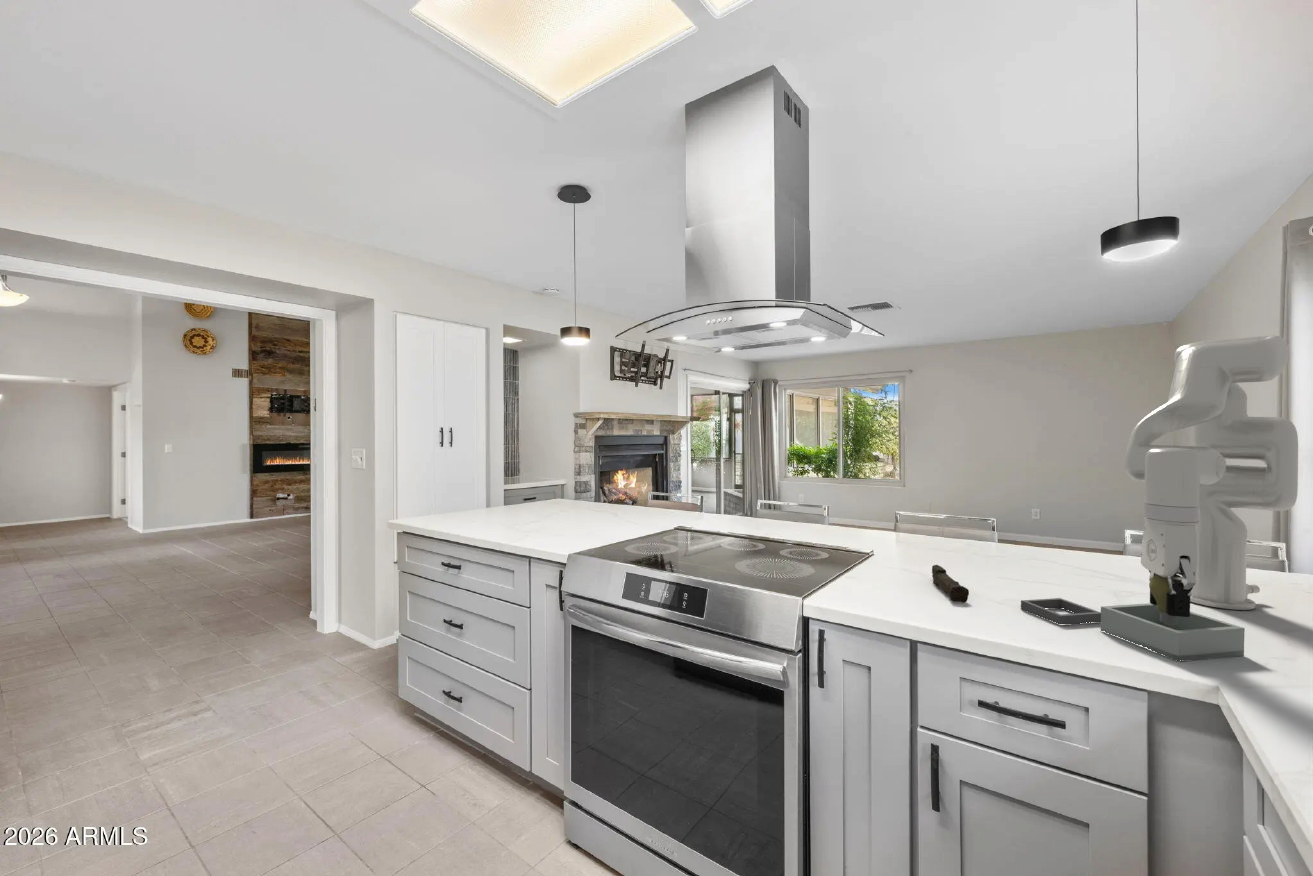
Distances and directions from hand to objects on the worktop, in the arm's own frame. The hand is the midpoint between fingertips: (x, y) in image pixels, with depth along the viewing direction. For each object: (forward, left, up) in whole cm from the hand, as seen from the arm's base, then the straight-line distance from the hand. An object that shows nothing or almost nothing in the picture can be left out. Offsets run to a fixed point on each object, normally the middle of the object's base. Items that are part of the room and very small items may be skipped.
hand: (1169, 609), depth 103 cm
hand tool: (+19, -37, -7) cm, 42 cm away
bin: (0, 0, -6) cm, 6 cm away
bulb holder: (+7, -16, -6) cm, 19 cm away
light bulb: (0, 0, -3) cm, 3 cm away
